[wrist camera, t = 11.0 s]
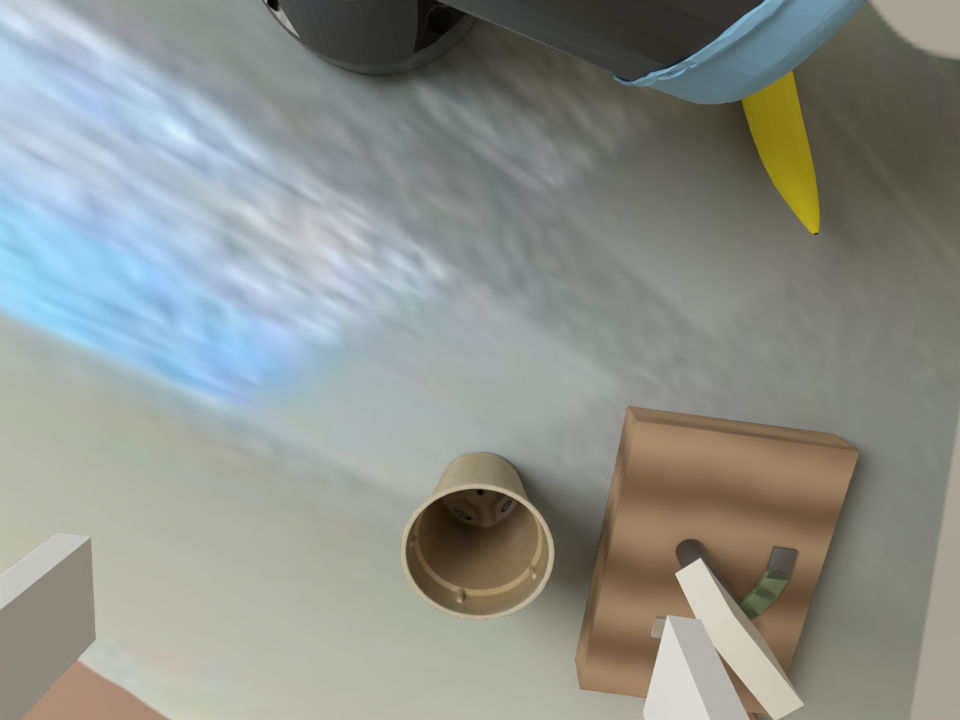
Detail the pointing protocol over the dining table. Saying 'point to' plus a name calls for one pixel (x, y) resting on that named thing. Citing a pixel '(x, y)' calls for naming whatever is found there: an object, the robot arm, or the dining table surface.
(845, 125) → the dining table surface
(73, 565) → the robot arm
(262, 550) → the dining table surface
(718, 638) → the white angular block
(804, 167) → the banana
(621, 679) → the tuner board
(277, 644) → the dining table surface
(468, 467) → the flower pot
